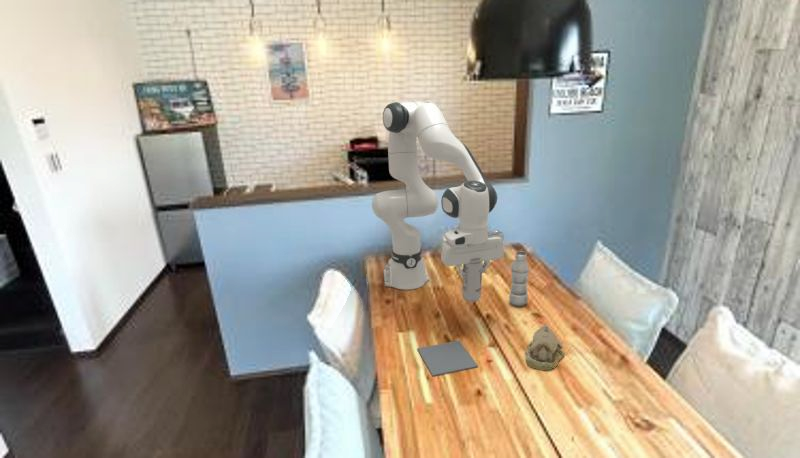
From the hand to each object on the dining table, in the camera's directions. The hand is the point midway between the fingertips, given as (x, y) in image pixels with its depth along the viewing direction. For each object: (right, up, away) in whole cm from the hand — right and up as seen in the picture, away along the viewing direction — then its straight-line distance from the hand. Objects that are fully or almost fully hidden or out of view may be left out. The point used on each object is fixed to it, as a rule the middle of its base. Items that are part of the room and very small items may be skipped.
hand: (472, 274), depth 148 cm
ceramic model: (+20, -24, -10) cm, 33 cm away
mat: (-9, -24, -9) cm, 28 cm away
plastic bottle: (+20, -13, +21) cm, 32 cm away
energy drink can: (0, -8, +3) cm, 9 cm away
